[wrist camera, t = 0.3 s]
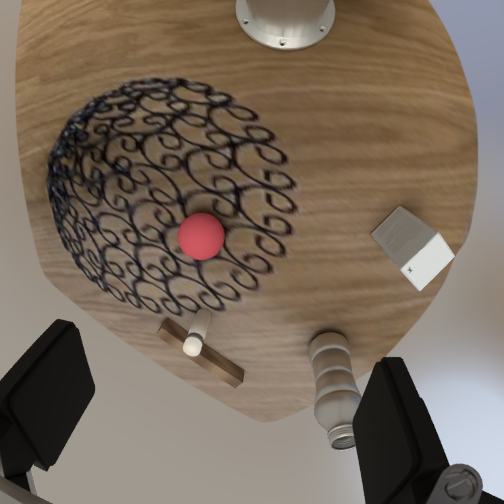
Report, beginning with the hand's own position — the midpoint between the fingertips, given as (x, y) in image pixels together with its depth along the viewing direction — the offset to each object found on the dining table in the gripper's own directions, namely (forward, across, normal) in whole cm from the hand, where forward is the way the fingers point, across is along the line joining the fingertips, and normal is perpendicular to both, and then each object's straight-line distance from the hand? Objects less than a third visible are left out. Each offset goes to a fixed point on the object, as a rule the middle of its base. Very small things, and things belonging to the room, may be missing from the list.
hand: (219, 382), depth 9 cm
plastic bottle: (+35, -13, +24) cm, 44 cm away
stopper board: (+35, +8, +27) cm, 45 cm away
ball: (+32, +7, +6) cm, 33 cm away
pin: (+35, +7, +20) cm, 41 cm away
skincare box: (+35, -19, +4) cm, 40 cm away
